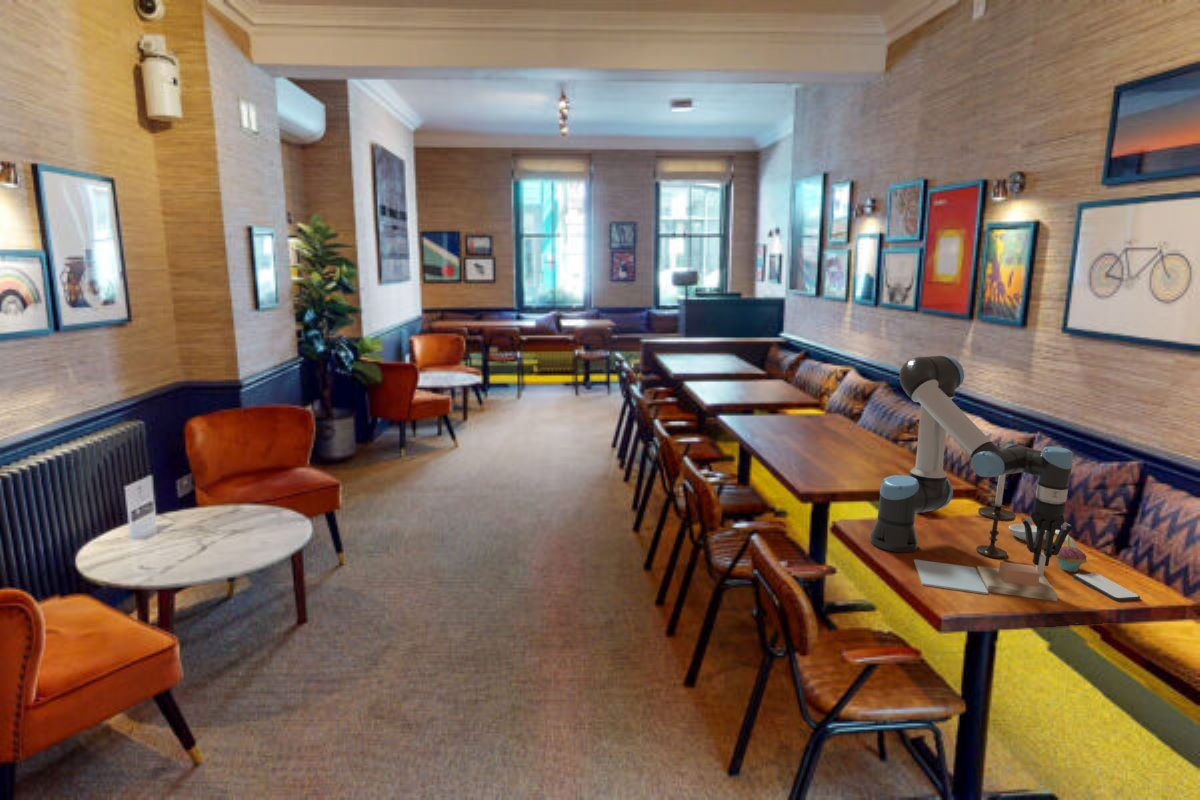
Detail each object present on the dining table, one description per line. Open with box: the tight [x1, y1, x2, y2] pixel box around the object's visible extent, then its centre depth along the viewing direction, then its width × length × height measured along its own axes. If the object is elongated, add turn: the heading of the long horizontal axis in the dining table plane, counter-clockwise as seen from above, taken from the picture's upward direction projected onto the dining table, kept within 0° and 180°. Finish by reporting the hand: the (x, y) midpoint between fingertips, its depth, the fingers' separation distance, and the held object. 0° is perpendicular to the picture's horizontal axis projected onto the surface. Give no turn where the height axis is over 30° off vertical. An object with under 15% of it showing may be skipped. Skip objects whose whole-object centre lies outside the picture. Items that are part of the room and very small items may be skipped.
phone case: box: [1072, 572, 1141, 602], centre depth 206 cm, size 9×2×16 cm
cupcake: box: [1054, 533, 1087, 573], centre depth 218 cm, size 9×8×12 cm
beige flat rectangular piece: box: [976, 565, 1059, 602], centre depth 206 cm, size 18×14×2 cm
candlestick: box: [975, 474, 1017, 560], centre depth 227 cm, size 11×11×35 cm
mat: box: [913, 559, 989, 595], centre depth 212 cm, size 18×18×1 cm
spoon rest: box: [1008, 523, 1079, 549], centre depth 238 cm, size 24×12×7 cm, turn 18°
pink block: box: [998, 561, 1040, 587], centre depth 206 cm, size 9×6×4 cm, turn 73°
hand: (1038, 574), depth 204 cm, fingers closed
